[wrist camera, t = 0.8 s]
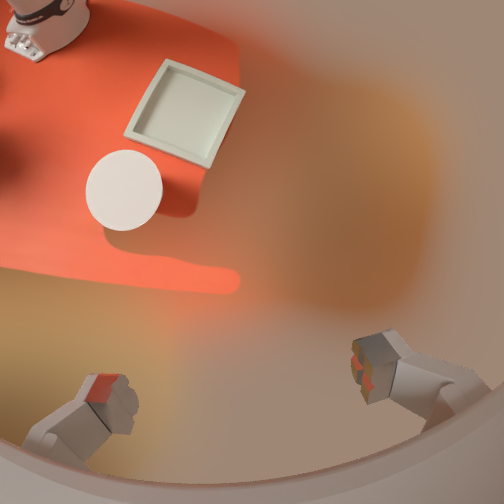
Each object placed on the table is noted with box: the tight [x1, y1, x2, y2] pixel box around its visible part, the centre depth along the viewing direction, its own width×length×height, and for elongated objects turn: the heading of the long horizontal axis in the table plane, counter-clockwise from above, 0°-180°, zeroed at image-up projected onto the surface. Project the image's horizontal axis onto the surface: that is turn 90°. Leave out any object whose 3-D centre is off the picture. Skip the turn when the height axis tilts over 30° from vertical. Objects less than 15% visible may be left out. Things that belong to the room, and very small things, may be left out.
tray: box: [123, 58, 246, 170], centre depth 43 cm, size 16×16×2 cm
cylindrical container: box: [86, 150, 163, 231], centre depth 33 cm, size 7×7×25 cm
